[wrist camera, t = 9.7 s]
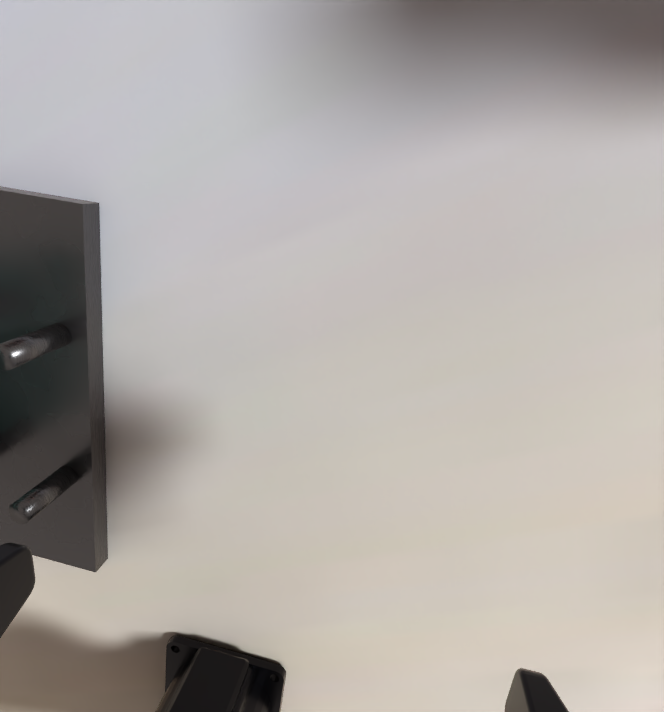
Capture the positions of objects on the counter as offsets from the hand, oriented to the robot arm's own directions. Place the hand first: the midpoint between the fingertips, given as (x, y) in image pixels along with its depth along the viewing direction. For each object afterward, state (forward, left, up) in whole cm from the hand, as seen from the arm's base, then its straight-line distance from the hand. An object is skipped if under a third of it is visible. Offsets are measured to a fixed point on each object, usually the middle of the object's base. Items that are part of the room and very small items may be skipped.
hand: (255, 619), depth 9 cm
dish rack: (-4, +19, -12) cm, 23 cm away
